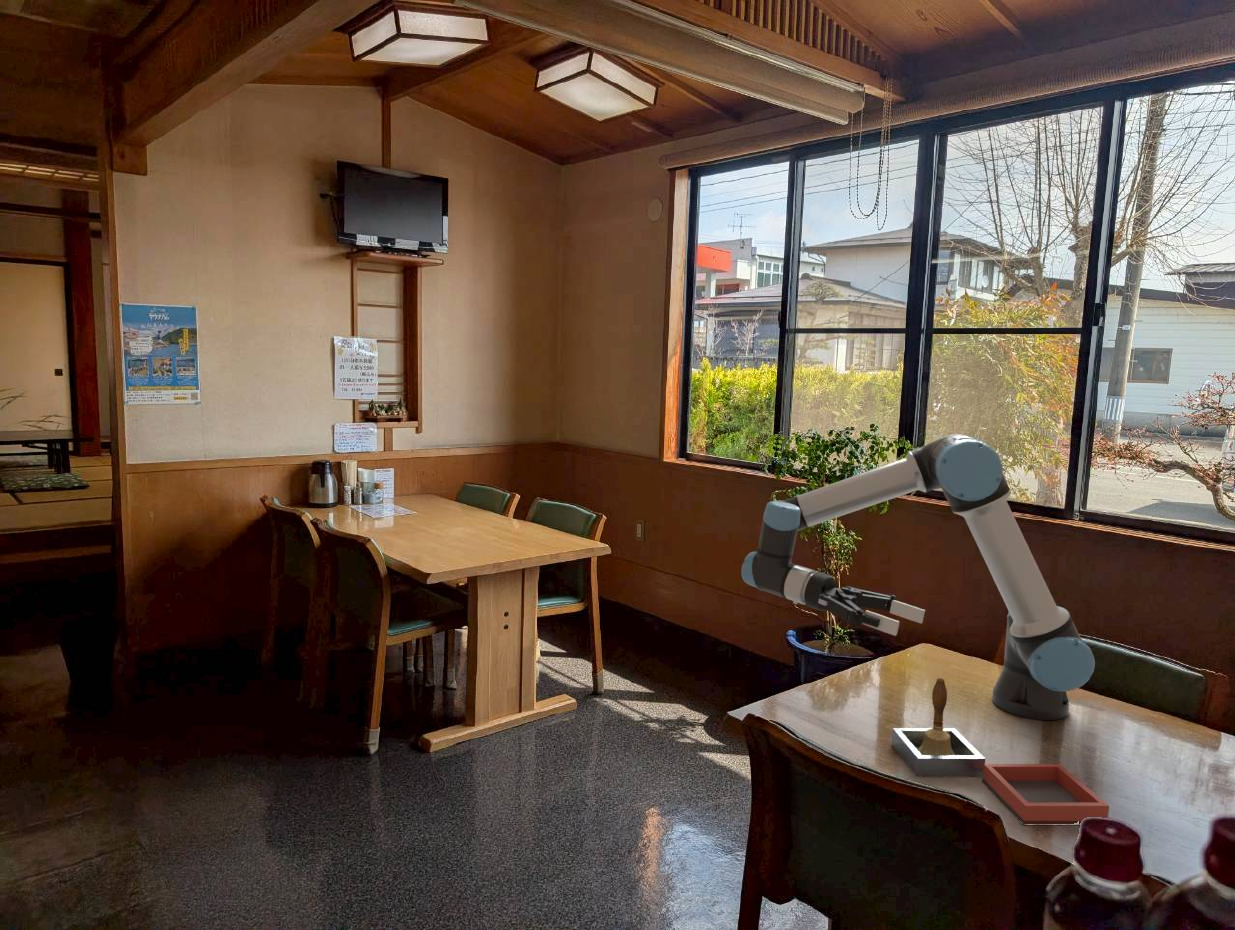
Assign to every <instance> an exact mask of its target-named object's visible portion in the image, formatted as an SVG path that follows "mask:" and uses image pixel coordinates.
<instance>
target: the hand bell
mask: <svg viewBox="0 0 1235 930" xmlns="http://www.w3.org/2000/svg"><path fill="white" fill-rule="evenodd" d="M931 700H932V705H933V706H932V707H933V714H934V715H933V722H932V723H933V725H932V728H933V729H928V730H927V731H926V732H925V736H924V740H923V743H922V745H921V747H920V748H916V749H917V750H918V751H919V752H920V753H921V755H955V753H954V752H953V751H952V748H951V742H950V735H949V734H948V733H947V732H945V731H943V728H944V723H943V722H944V710H945V708H946V705H947V700H948V691H947V686H946V683H945V679H943V678H941V677H937V678H936V682H935V684H934V685H933V689H932V694H931Z"/></svg>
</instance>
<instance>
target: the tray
mask: <svg viewBox="0 0 1235 930" xmlns="http://www.w3.org/2000/svg"><path fill="white" fill-rule="evenodd" d="M981 778H982V780H981V781H982V783H983V785H984V786H986V788H988V790H989V791H991V792H992V794H993V795H994V796H995V797H996V798H997V799H998V800H999V801H1000V802H1001V803H1002V804H1003V805H1004V807H1006V809H1008V811H1010V813H1011V814H1012V815H1013V816H1014V815H1015V816H1014V817H1015V818H1016V817H1017V818H1018V819H1017V818H1016V819H1017V820H1018V821H1019V820H1020V821H1021V822H1022V823H1023V824H1074V823H1077V822H1078V821H1079V824H1080V823H1081V821H1082V820H1083V819H1084V818H1087V817H1102V818H1108V819H1109V812H1110V811H1109V810H1110V805H1109V804H1108V803H1107V802H1105V801H1104V800H1103V799H1102V798H1101V797H1100V796H1098V795H1097V794H1096V793H1095V792H1094V791H1092V789H1090V788H1089V787H1088V786H1087V785H1085V784H1084V783H1083V782H1082V781H1081V780H1079V779H1078V778H1077V777H1076V776H1074V775H1073V774H1072V773H1071V772H1070V771H1069V770H1067V768H1065V767H1064V766H1062V765H1061V764H1060V763H985V764H984V767H983V777H981ZM1020 821H1019V822H1020ZM1021 822H1020V823H1021ZM1022 823H1021V824H1022ZM1023 824H1022V825H1023Z"/></svg>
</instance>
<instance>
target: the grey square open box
mask: <svg viewBox="0 0 1235 930" xmlns="http://www.w3.org/2000/svg"><path fill="white" fill-rule="evenodd" d="M928 729H933V727H928V728H927V727H925V728H924V727H918V728H917V727H910V728H909V727H892V730H891V746H892V748H893V749H894V750H895V752H896V753H897V754H898V755H899V757H900V758H901V759H902V760H903V762H905V765H907V767H908V768H909V769H910V770H911V772H913V774H914V775H915V776H916V777H917V778H922V777H923V778H925V777H927V778H929V777H930V778H937V777H938V778H940V777H941V778H942V777H943V778H946V777H947V778H948V777H949V778H951V777H952V778H959V777H960V778H965V777H966V778H968V777H969V778H970V777H971V778H976V777H977V778H978V777H979V778H983V767H984V764H986V758H985V757H984V756H983V754H981V753H980V751H978V750H977V748H975V747H974V745H972V744H971V743H970V742H969V741H968V740H967V739H966V738H965V737H964V736H963V735H962V734H961V733H960V732H959V731H958V730H957V729H956V728H953V727H952V728H950V727H949V728H948V727H946V728H944V727H943V731H945V732H947V733H948V734H949V735H950V742H951V748H952V751H953V754H954V755H921V753H920V752H919V751H918V750H917V749H919V748H920V747H921V745H922V743H923V740H924V736H925V732H926V731H927V730H928Z"/></svg>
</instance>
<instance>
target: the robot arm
mask: <svg viewBox="0 0 1235 930" xmlns="http://www.w3.org/2000/svg"><path fill="white" fill-rule="evenodd" d="M1003 469H1004V468H1003V464H1002V461H1001V458H1000V456H999V454H998V453H997V452H996V450H995V449H994V448H993V447H991V446H990V444H988V443H986V442H985V441H983V440H980V439H978V438H974V437H972V436H969V435H965V434H960V433H959V434H956V433H955V434H951V435H946V436H943V437H941V438H939V439H936V440H934V441H931V442H930V443H927V444H925V445H923V446H921V447H917V448H915V449H912V450H909V451H908V452H907V454H906V456H905V457H904V458H901V459H898V460H895V461H892V462H890V463H887V464H884V465H881V466H878V467H875V468H873V469H870V470H867V471H864V472H862V473H858V474H856V475H853V476H850V477H848V478H847V477H846V478H844V479H842V480H839V481H837V482H833V483H830V484H827V485H824V486H821V487H818V488H816V489H814V490H813V489H812V490H810V491H808V492H804V493H802V494H799V495H797V496H794V497H791V498H788V499H785V500H783V499H782V500H781V499H780V500H773V501H768V502H767V503H766V506H765V509H764V512H763V515H762V523H761V530H760V534H759V541H758V547H757V550H755V551H751V552H749V553H748V554H747V555H746V557H745V558H744V562H743V563H742V565H741V578H742V580H743V581H744V583H745V584H747V585H748V586H751V587H754V588H756V589H758V590H759V591H764V592H767V593H769V594H772V595H775V596H778V597H781V598H784V599H787V600H789V601H792V603H793V604H794V605H798V604H801V605H806V607H809V608H812V609H814V610H817V611H819V612H825V611H827V612H829V613H830V614H832V615H834V616H836V617H837V618H839V619H841V620H843V621H845V622H846V623H847V624H850V625H854V627H856V628H859V629H860V628H861V627H862V625H864V626H867V627H869V628H872V629H875V630H878V631H880V632H883V633H886V634H889V635H892V636H894V637H896V636H898V631H899V627H900V621H899V620H898V619H897V620H896V619H894V618H891V617H887V616H886V615H882V614H879V613H877V612H873V611H870V610H868V609H873V610H881V611H887V612H889V614H892V615H894V616H898V617H900V618H904V619H906V620H909V621H912V622H915V623H919V624H923V622H924V618H925V613H926V609H924V608H923V609H922V608H920V607H917V606H914V605H910V604H908V603H906V602H901V601H899V600H895V599H896V595H894V594H890V595H889V594H884V593H879V592H873V591H870V590H865V589H861V588H860V589H859V588H855V587H853V586H850V585H846V586H845V587H841V588H840V587H839V588H838V586H837V584H836V579H835V577H834V576H832V575H829V574H826V573H823V572H820V571H816V570H815V569H812V568H808V567H805V566H803V565H798V564H796V563H795V564H794V563H793V562H792V559H793V555H794V550H795V549H794V548H795V544H796V541H797V536H798V532H799V531H802V530H805V529H807V528H811V527H813V526H816V525H819V524H821V523H823V522H824V523H825V522H829V521H830V520H834V519H836V518H840V517H842V516H845V515H847V514H851V513H854V512H856V511H857V512H858V511H860V510H862V509H865V508H869V507H871V506H874V505H878V504H881V503H883V502H886V501H889V500H892V499H896V498H899V497H902V496H904V495H907V494H910V493H914V492H916V491H920V492H923V493H928V492H931V491H934V490H938V489H941V490H942V492H943V493H942V494H943V495H944V497H945V499H946V501H947V503H948V505H949V506H950V509H951V511H952V513H953V514H955V515H959V516H961V517H963V519H964V520H965V522H966V524H967V526H968V528H969V530H970V532H971V535H972V537H973V538H974V539H973V540H974V541H975V543H976V545H977V548H978V549H979V551H980V553H981V556H982V559H984V562H985V564H986V566H987V569H988V570H989V571H988V572H989V573H990V575H991V576H992V579H993V582H994V584H995V585H996V587H997V590H998V592H999V594H1000V596H1001V597H1002V600H1003V602H1004V604H1005V606H1006V608H1007V610H1008V612H1007V613H1008V614H1006V615H1007V616H1006V618H1007V619H1006V622H1007V623H1006V634H1005V645H1004V660H1003V666H1002V670H1001V672H1000V674H999V676H998V677H997V679H996V683H995V685H994V687H993V688H992V694H991V695H992V696H991V700H992V702H993V704H994V705H996V706H997V707H998V708H1000V709H1001V710H1003V711H1005V712H1007V713H1010V714H1013V715H1015V716H1016V715H1017V716H1019V717H1023V718H1027V719H1034V720H1040V721H1041V720H1043V721H1056V720H1062V719H1064V718H1067V717H1068V715H1069V708H1070V701H1069V697H1068V695H1067V692H1070V691H1073V690H1074V691H1075V690H1077V689H1080V688H1081V687H1083V686H1085V684H1086V683H1087V682H1088V681H1089V680H1091V677H1092V676H1093V673H1094V670H1095V665H1096V661H1095V657H1094V654H1093V652H1092V649H1091V647H1090V646H1089V645H1088V644H1087V643H1086V642H1085V641H1083V639H1082V638H1081V635H1080V634H1079V631H1078V629H1077V627H1076V625H1075V623H1074V621H1073V619H1072V617H1071V616H1072V615H1070V612H1069V611H1068V610H1067V609H1066V608H1064V607H1062V606H1059V605H1057V604H1056V602H1055V600H1054V598H1053V595H1052V593H1051V592H1050V589H1049V587H1048V585H1047V583H1046V581H1045V579H1044V577H1043V574H1042V572H1041V571H1040V569H1039V566H1038V564H1037V562H1036V560H1035V557H1034V555H1033V554H1032V552H1031V550H1030V548H1029V545H1028V543H1027V541H1026V540H1025V537H1024V535H1023V533H1022V530H1021V528H1020V527H1019V524H1018V523H1017V520H1016V517H1015V516H1014V514H1013V512H1012V510H1011V507H1010V505H1009V503H1008V501H1007V500H1008V497H1009V495H1010V492H1011V488H1010V486H1009V484H1008V482H1007V480H1006V478H1005V476H1004V473H1003V472H1004V471H1003ZM861 608H867V610H865V611H864V610H863V609H861Z"/></svg>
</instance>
